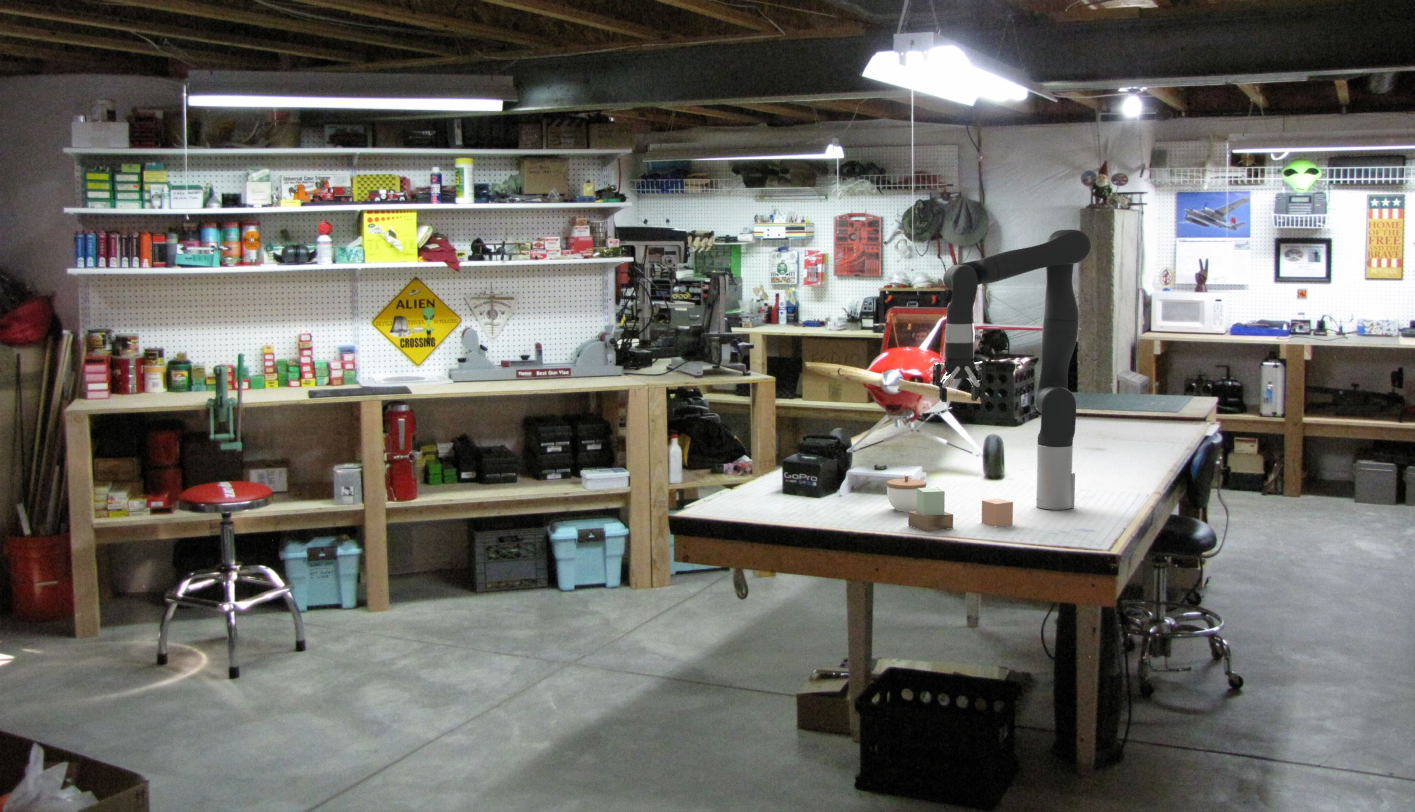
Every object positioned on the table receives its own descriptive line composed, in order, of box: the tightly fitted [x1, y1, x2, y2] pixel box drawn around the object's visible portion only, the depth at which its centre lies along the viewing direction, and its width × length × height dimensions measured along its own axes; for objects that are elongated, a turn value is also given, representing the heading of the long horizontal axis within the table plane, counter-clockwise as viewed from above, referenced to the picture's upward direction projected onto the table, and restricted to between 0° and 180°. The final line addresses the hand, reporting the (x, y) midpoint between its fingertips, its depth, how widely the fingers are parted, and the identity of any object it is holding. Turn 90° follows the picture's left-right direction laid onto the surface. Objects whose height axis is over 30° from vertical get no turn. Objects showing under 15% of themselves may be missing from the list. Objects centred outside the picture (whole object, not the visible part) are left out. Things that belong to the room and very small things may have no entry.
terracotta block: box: [981, 498, 1014, 527], centre depth 315 cm, size 6×6×6 cm
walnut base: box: [907, 511, 954, 533], centre depth 313 cm, size 8×8×4 cm
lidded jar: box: [886, 475, 927, 513], centre depth 334 cm, size 11×11×9 cm
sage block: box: [917, 487, 946, 516], centre depth 312 cm, size 6×6×6 cm
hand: (959, 401), depth 327 cm, fingers open, 8 cm apart
